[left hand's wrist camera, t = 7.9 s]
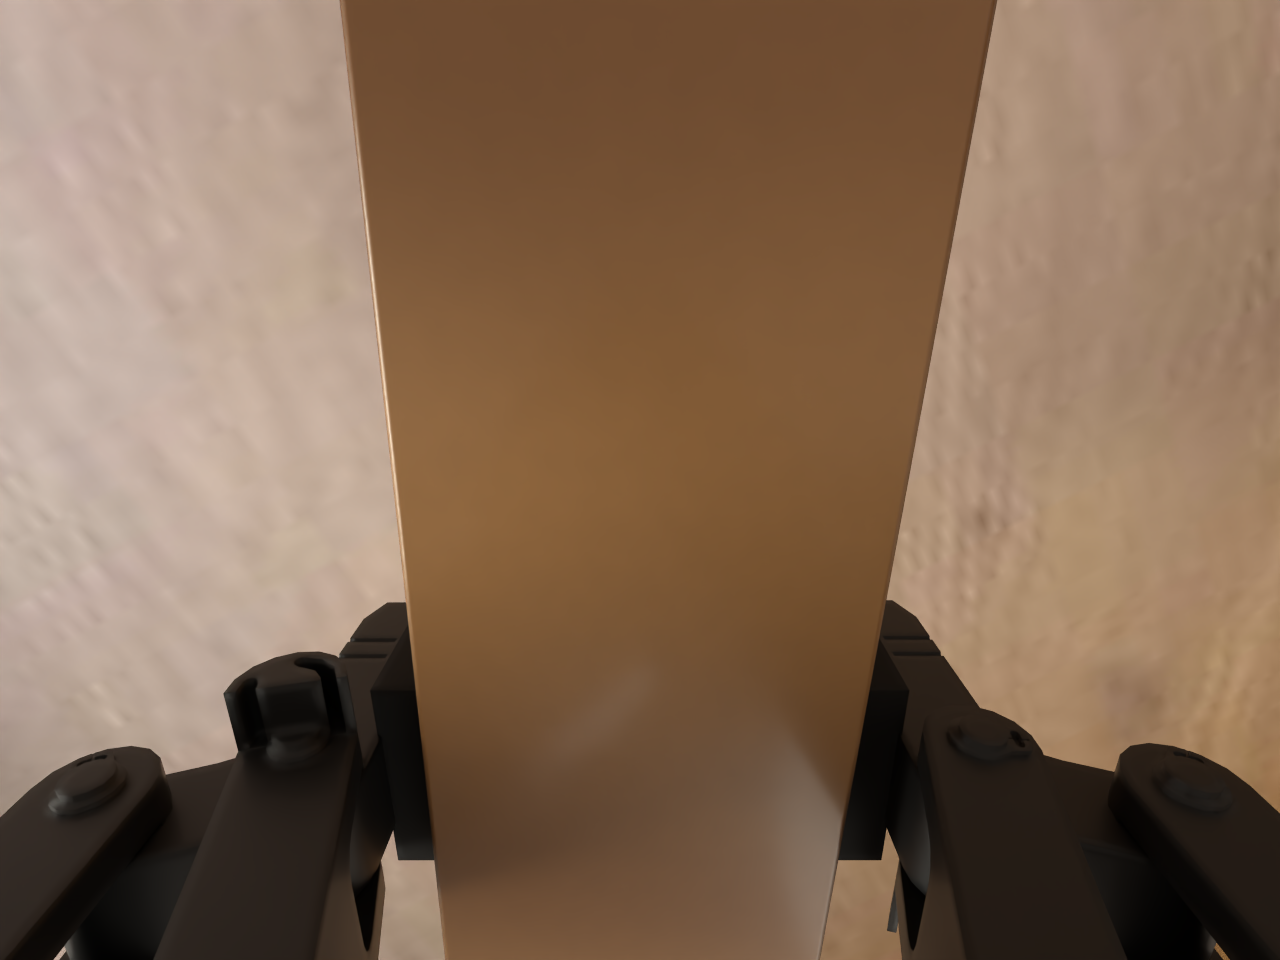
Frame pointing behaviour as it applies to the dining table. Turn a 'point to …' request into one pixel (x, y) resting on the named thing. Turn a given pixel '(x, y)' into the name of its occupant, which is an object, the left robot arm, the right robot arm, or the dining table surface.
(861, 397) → the post
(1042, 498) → the dining table surface
